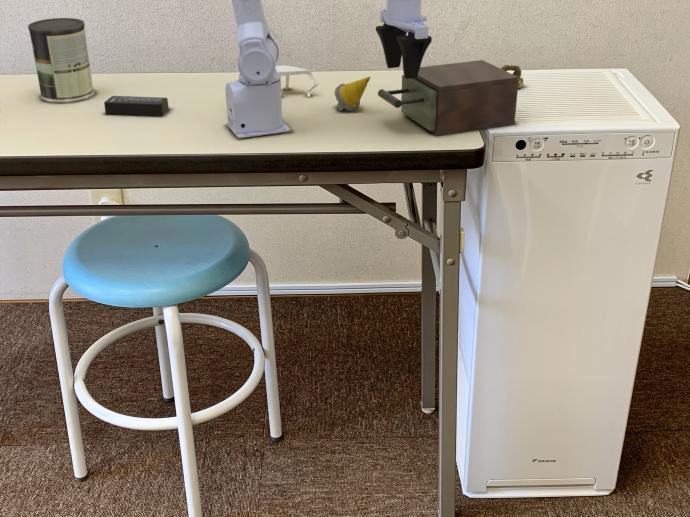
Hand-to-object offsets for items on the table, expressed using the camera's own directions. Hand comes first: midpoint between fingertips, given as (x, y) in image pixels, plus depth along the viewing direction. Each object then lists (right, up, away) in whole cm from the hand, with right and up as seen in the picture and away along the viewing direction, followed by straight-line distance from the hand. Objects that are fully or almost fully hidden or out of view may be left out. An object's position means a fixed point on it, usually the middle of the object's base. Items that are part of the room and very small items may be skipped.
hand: (401, 72), depth 143 cm
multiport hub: (-49, -5, +13) cm, 51 cm away
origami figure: (-21, +1, +23) cm, 31 cm away
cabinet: (+11, -7, +8) cm, 15 cm away
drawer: (+7, -7, +7) cm, 12 cm away
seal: (+19, +3, +28) cm, 34 cm away
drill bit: (-8, -4, +14) cm, 17 cm away
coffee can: (-65, 0, +23) cm, 69 cm away
